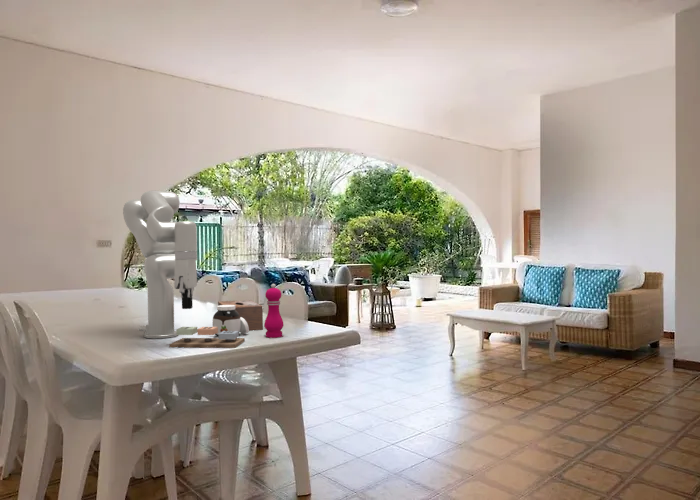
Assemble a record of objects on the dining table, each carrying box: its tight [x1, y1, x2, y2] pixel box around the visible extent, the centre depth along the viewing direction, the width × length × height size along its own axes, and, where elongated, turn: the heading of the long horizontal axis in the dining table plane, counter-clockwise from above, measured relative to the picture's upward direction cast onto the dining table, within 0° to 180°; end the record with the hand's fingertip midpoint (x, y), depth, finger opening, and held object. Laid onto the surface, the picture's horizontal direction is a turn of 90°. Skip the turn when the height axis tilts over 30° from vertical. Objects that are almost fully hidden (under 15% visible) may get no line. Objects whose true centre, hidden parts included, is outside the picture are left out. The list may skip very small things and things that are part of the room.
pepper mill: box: [263, 283, 284, 339], centre depth 209 cm, size 7×7×20 cm
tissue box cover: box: [217, 299, 264, 332], centre depth 234 cm, size 26×14×10 cm, turn 21°
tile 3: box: [218, 331, 240, 339], centre depth 193 cm, size 6×6×2 cm
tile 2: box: [197, 326, 218, 336], centre depth 194 cm, size 6×6×2 cm
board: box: [168, 337, 246, 349], centre depth 194 cm, size 23×12×2 cm, turn 86°
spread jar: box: [212, 305, 250, 338], centre depth 212 cm, size 12×11×12 cm
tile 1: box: [175, 326, 198, 336], centre depth 194 cm, size 6×6×2 cm
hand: (187, 308), depth 194 cm, fingers closed
